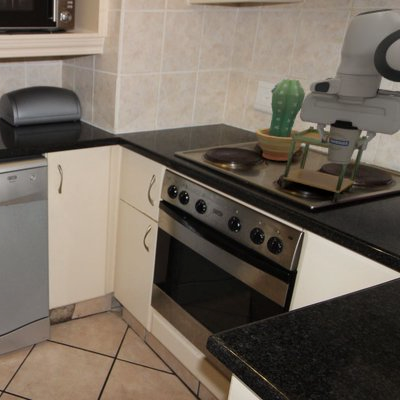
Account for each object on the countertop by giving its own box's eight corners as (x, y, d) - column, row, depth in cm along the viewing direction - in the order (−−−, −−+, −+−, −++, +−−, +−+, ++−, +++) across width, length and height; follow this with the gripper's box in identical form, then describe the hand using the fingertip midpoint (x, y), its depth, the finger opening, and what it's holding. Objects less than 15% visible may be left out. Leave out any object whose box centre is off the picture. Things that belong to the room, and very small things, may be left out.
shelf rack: (351, 191, 130) (367, 136, 124) (336, 202, 122) (352, 144, 116) (298, 178, 139) (310, 126, 133) (280, 187, 132) (292, 133, 126)
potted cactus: (304, 153, 161) (318, 78, 152) (302, 165, 148) (318, 83, 139) (254, 148, 168) (265, 75, 159) (249, 159, 155) (260, 81, 146)
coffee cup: (336, 155, 118) (346, 115, 115) (362, 163, 112) (373, 121, 108) (314, 158, 116) (323, 117, 112) (339, 166, 110) (350, 124, 106)
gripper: (415, 90, 102) (397, 152, 108) (313, 80, 116) (302, 136, 122) (407, 93, 98) (389, 158, 104) (303, 83, 113) (292, 140, 118)
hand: (341, 146), depth 113 cm, fingers closed on coffee cup, 7 cm apart
